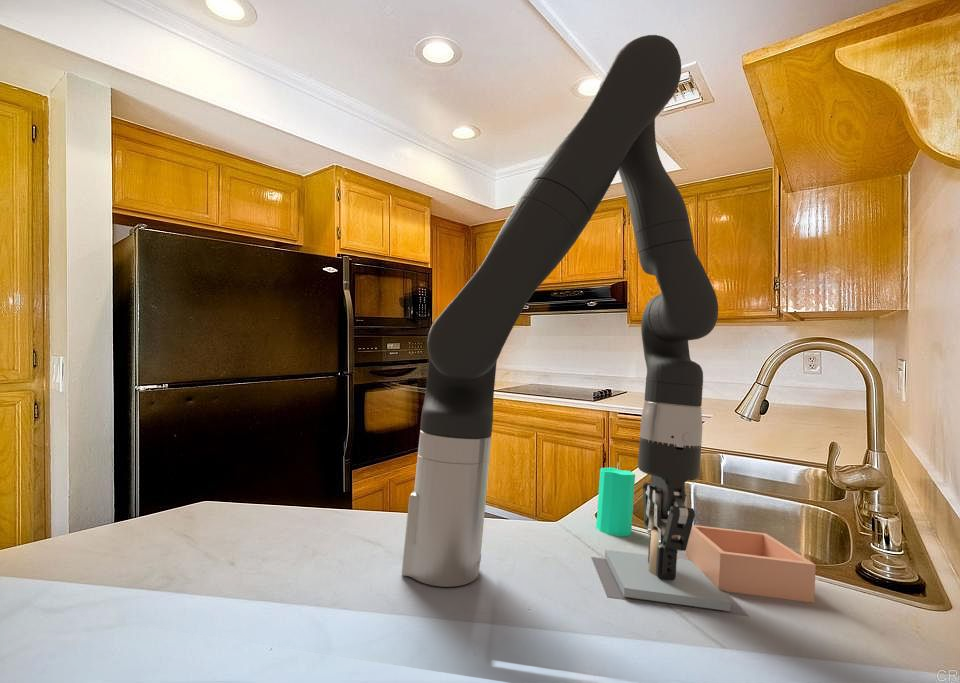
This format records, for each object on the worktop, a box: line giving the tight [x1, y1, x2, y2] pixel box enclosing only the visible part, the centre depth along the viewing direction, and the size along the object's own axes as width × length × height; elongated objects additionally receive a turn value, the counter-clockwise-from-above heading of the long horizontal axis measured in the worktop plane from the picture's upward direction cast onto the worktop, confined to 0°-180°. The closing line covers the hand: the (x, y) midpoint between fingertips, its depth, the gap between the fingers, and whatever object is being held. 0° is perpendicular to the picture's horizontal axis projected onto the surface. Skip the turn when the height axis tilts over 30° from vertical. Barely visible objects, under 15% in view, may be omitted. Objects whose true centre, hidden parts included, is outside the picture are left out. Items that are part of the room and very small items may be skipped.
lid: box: [604, 529, 731, 611], centre depth 59 cm, size 12×12×6 cm
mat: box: [591, 556, 750, 617], centre depth 59 cm, size 16×12×1 cm
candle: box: [595, 461, 636, 537], centre depth 79 cm, size 6×6×12 cm
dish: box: [685, 524, 817, 604], centre depth 64 cm, size 12×12×5 cm
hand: (661, 571), depth 59 cm, fingers closed on lid, 3 cm apart
